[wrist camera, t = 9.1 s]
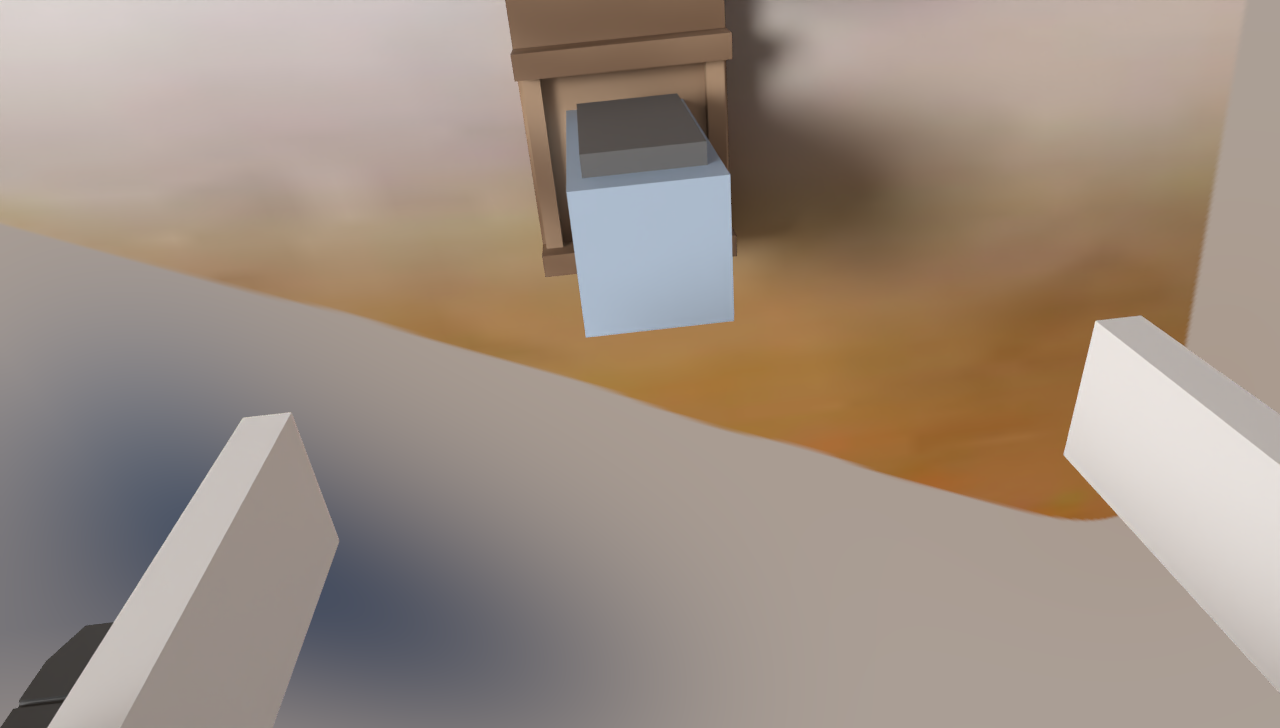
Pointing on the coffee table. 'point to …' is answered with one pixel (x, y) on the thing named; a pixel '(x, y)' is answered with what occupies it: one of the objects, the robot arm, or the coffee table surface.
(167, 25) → the coffee table surface
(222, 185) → the coffee table surface
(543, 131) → the brown boxy frame piece
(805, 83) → the coffee table surface
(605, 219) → the block
